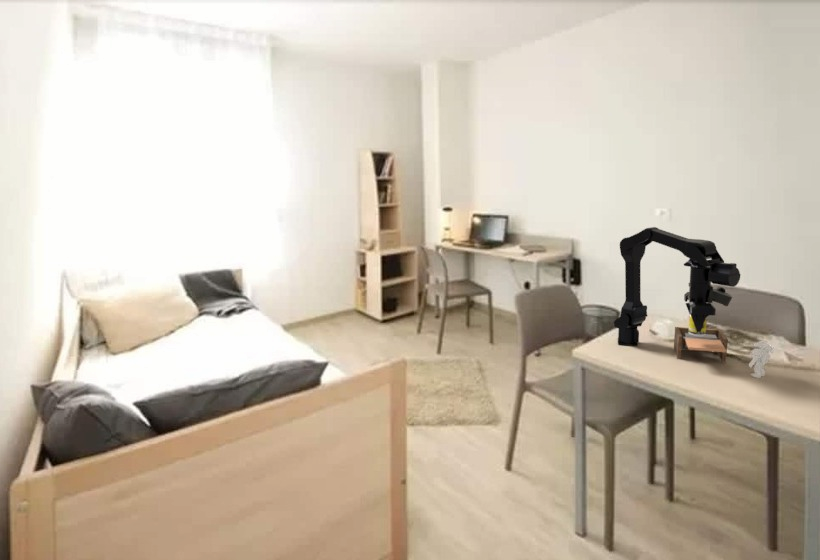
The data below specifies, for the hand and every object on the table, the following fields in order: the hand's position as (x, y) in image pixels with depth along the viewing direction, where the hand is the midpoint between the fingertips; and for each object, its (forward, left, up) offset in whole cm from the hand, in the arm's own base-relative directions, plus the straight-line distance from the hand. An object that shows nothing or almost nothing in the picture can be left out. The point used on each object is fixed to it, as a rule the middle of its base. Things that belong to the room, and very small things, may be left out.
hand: (697, 329), depth 155 cm
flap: (+3, +3, -9) cm, 10 cm away
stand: (+3, +10, -13) cm, 16 cm away
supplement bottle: (0, 0, -2) cm, 2 cm away
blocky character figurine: (+17, -4, -13) cm, 21 cm away
